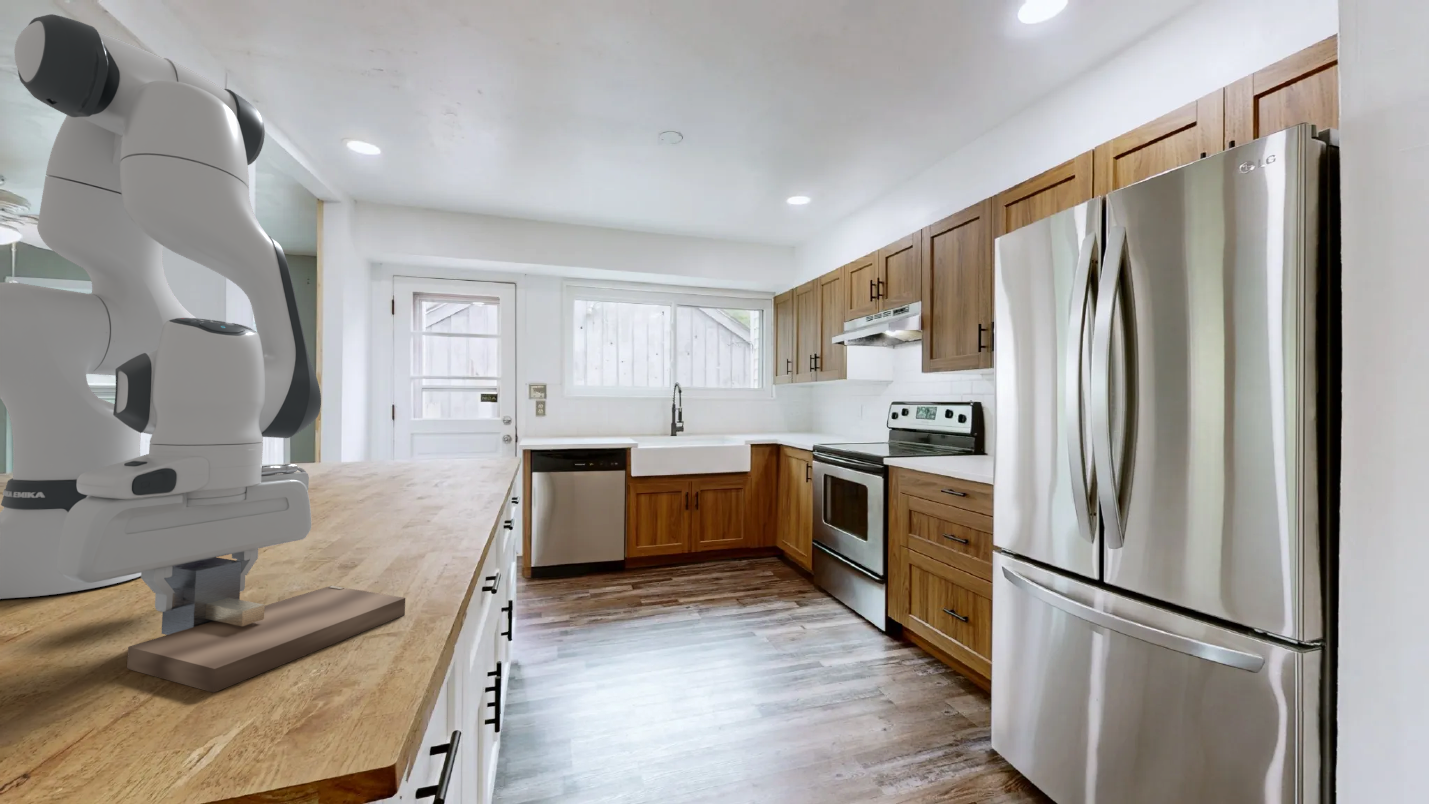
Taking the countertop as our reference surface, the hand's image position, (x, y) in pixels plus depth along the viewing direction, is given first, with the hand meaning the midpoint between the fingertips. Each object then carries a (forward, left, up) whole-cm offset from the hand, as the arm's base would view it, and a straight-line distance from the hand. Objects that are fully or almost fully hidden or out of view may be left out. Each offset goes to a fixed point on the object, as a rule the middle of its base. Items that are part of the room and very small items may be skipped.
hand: (201, 600), depth 57 cm
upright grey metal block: (+3, 0, -3) cm, 4 cm away
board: (+9, +2, -4) cm, 10 cm away
